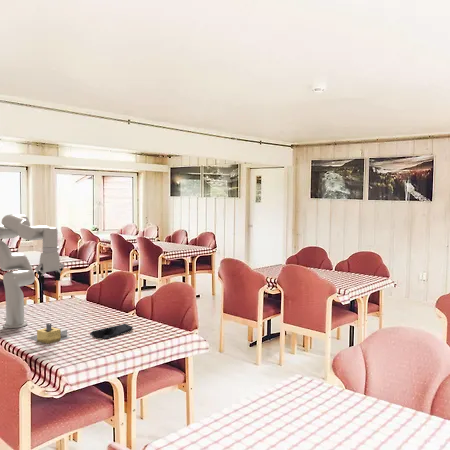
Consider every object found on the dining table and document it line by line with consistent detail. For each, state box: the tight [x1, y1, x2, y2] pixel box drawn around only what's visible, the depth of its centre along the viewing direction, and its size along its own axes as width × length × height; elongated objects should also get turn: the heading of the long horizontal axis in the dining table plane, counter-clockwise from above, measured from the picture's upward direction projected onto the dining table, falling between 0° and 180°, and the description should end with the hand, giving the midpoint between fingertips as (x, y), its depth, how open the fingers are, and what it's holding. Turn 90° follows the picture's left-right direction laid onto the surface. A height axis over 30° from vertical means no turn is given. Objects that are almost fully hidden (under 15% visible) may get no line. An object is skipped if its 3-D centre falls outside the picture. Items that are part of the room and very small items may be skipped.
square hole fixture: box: [26, 326, 72, 345], centre depth 249 cm, size 18×15×6 cm
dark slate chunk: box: [89, 323, 133, 340], centre depth 263 cm, size 15×22×5 cm
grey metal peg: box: [45, 323, 52, 331], centre depth 245 cm, size 2×2×8 cm
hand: (50, 281), depth 260 cm, fingers open, 9 cm apart
